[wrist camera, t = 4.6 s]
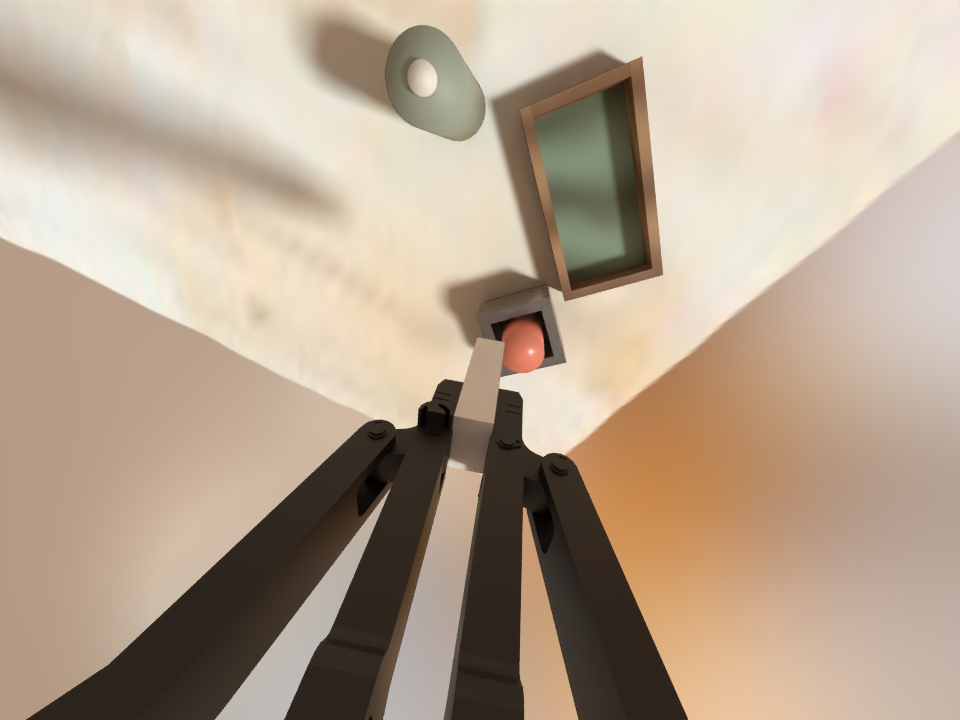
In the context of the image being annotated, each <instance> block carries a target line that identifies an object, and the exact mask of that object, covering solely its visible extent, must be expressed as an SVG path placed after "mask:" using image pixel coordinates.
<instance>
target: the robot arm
mask: <svg viewBox="0 0 960 720" xmlns="http://www.w3.org/2000/svg"><path fill="white" fill-rule="evenodd" d="M504 346H505V342H500V341H495V340H490V339H484V338H479V337H477V340H476V344H475V347H474V350H473V354H472V357H471V360H470V364H469V367H468V370H467V374H466V377H465V380H464V383H463V382H458V381H453V380H447V379H445V380H443V381H442V382H441V383H439V384H438V386H437V389H436V391H435V393H434V396H433V398H432V401H430V402H426V403H424V404H422V405H421V406H420V408H419V410H418V425H417V426H415V427H412V428H407V429H396V428H395V427H394V425H393V424H392V423H390V422H388V421H385V420H373V421H370V422H367V423H366V424H364V425H363V426H362V427H361V428H359V429H358V430H357V431H356V432H355V433H354V434H353V435H352V436H351V437H350V438H349V439H348V440H347V441H346V442H345V443H344V444H342V446H340V448H338V449H337V450H336V451H335V452H334V453H333V454H332V455H331V456H330V457H329V458H328V459H327V460H325V462H323V463H322V464H321V465H320V466H319V467H318V468H317V469H316V470H315V471H314V472H313V473H312V474H311V475H310V476H308V478H306V479H305V480H304V481H303V482H302V483H301V484H300V485H299V486H298V487H297V488H296V489H295V490H294V491H293V492H292V493H291V494H289V495H288V496H287V497H286V498H285V499H284V500H283V501H282V502H281V503H280V504H279V505H278V506H277V507H276V508H275V509H273V510H272V511H271V512H270V513H269V514H268V515H267V516H266V517H265V518H264V519H263V520H262V521H261V522H260V523H259V524H258V525H257V526H255V527H254V528H253V529H252V530H251V531H250V532H249V533H248V534H247V535H246V536H245V537H244V538H243V539H242V540H241V541H240V542H238V543H237V544H236V545H235V546H234V547H233V548H232V549H231V550H230V551H229V552H228V553H227V554H226V555H225V556H224V557H222V558H221V559H220V560H219V562H217V563H216V564H215V565H214V566H213V567H212V568H211V569H210V570H209V571H208V572H207V573H205V574H204V575H203V576H202V577H201V578H200V579H199V580H198V581H197V582H196V583H195V584H194V585H193V586H192V587H191V588H190V589H189V590H187V591H186V592H185V593H184V594H183V595H182V596H181V597H180V598H179V599H178V600H177V601H176V602H175V603H174V604H173V605H172V606H171V607H169V608H168V609H167V610H166V611H165V612H164V613H163V614H162V615H161V616H160V617H159V618H158V619H157V620H156V621H155V622H153V623H152V624H151V625H150V626H149V627H148V628H147V629H146V630H145V631H144V632H143V633H142V634H141V635H140V636H139V637H137V638H136V639H135V640H134V641H133V642H132V643H131V644H130V645H129V646H128V647H127V648H126V649H125V650H124V651H123V652H122V653H120V654H119V656H117V657H116V658H115V659H114V660H113V661H112V662H111V663H110V664H109V665H107V666H106V667H105V668H103V669H101V670H100V671H98V672H97V673H95V674H94V675H92V676H91V677H90V678H88V679H86V680H85V681H83V682H82V683H80V684H79V685H77V686H76V687H74V688H73V689H71V690H70V691H68V692H67V693H65V694H64V695H63V696H61V697H59V698H58V699H57V700H55V701H54V702H52V703H50V704H49V705H48V706H46V707H44V708H43V709H41V710H40V711H39V712H37V713H35V714H34V715H32V716H31V717H30V718H28V719H26V720H215V719H216V717H217V716H218V715H219V714H220V712H221V711H222V710H223V709H224V707H225V706H226V704H227V703H228V702H229V701H230V699H231V698H232V697H233V695H234V694H235V693H236V692H237V690H238V689H239V688H240V686H241V685H242V684H243V682H244V681H245V679H246V678H247V677H248V675H249V674H250V673H251V671H252V670H253V669H254V668H255V666H256V665H257V664H258V662H259V661H260V660H261V658H262V657H263V656H264V654H265V653H266V652H267V651H268V649H269V648H270V647H271V645H272V644H273V642H274V641H275V640H276V639H277V637H278V636H279V635H280V633H281V632H282V631H283V629H284V628H285V627H286V625H287V624H288V623H289V621H290V620H291V619H292V617H293V616H294V615H295V613H296V612H297V611H298V610H299V608H300V607H301V606H302V604H303V603H304V601H305V600H306V599H307V598H308V596H309V595H310V594H311V592H312V591H313V590H314V588H315V587H316V586H317V584H318V583H319V582H320V580H321V579H322V578H323V576H324V575H325V574H326V572H327V571H328V570H329V568H330V567H331V566H332V565H333V563H334V562H335V560H336V559H337V558H338V557H339V555H340V554H341V553H342V551H343V550H344V549H345V547H346V546H347V544H349V542H350V541H351V540H352V538H353V537H354V536H355V534H356V533H357V532H358V530H359V529H360V528H361V526H362V525H363V524H364V522H365V521H366V520H367V518H368V517H369V516H370V514H371V513H372V512H373V510H374V509H375V508H376V507H377V505H378V504H379V502H380V501H381V500H382V499H383V497H384V496H385V495H386V493H387V492H388V491H389V489H390V488H391V489H390V492H389V494H388V496H387V499H386V501H385V504H384V506H383V508H382V511H381V513H380V516H379V518H378V520H377V522H376V525H375V527H374V530H373V532H372V534H371V537H370V539H369V542H368V544H367V546H366V548H365V551H364V553H363V556H362V558H361V560H360V563H359V565H358V568H357V570H356V572H355V575H354V577H353V579H352V582H351V584H350V586H349V589H348V591H347V593H346V596H345V598H344V600H343V603H342V605H341V608H340V610H339V612H338V615H337V617H336V619H335V622H334V624H333V626H332V628H331V631H330V633H329V634H328V636H327V637H326V638H325V639H324V640H323V641H322V642H320V644H319V646H318V647H317V649H316V650H315V652H314V654H313V656H312V658H311V661H310V663H309V665H308V667H307V669H306V671H305V674H304V676H303V678H302V680H301V683H300V685H299V687H298V690H297V692H296V694H295V696H294V699H293V701H292V703H291V706H290V708H289V710H288V712H287V715H286V717H285V719H284V720H383V716H384V712H385V707H386V702H387V697H388V692H389V688H390V684H391V680H392V676H393V672H394V669H395V665H396V661H397V657H398V653H399V650H400V646H401V642H402V638H403V635H404V631H405V627H406V623H407V620H408V615H409V612H410V608H411V604H412V601H413V597H414V593H415V589H416V585H417V582H418V578H419V574H420V570H421V567H422V563H423V559H424V555H425V552H426V548H427V544H428V540H429V536H430V532H431V529H432V525H433V521H434V517H435V514H436V510H437V506H438V502H439V499H440V495H441V491H442V487H443V484H444V480H445V474H446V468H447V466H448V467H453V468H458V469H463V470H468V471H473V472H478V473H483V475H482V480H481V485H480V490H479V494H478V497H479V498H478V504H477V511H476V518H475V524H474V530H473V537H472V543H471V549H470V556H469V563H468V569H467V575H466V582H465V588H464V595H463V601H462V608H461V615H460V621H459V627H458V633H457V640H456V646H455V652H454V659H453V665H452V672H451V679H450V685H449V691H448V698H447V704H446V709H445V715H444V720H524V694H523V687H522V684H521V681H520V674H519V661H520V613H521V570H522V524H523V507H525V508H527V514H528V518H529V522H530V526H531V531H532V535H533V539H534V543H535V547H536V551H537V555H538V559H539V563H540V567H541V571H542V575H543V579H544V583H545V587H546V591H547V595H548V599H549V603H550V607H551V611H552V615H553V619H554V623H555V627H556V631H557V635H558V639H559V643H560V647H561V651H562V655H563V659H564V663H565V667H566V671H567V675H568V679H569V683H570V687H571V691H572V695H573V699H574V703H575V707H576V711H577V715H578V719H579V720H688V718H687V716H686V713H685V711H684V709H683V707H682V705H681V702H680V700H679V698H678V695H677V693H676V691H675V689H674V686H673V684H672V682H671V679H670V677H669V675H668V673H667V670H666V668H665V666H664V664H663V661H662V659H661V657H660V655H659V652H658V650H657V648H656V646H655V643H654V641H653V639H652V636H651V634H650V632H649V630H648V627H647V625H646V623H645V621H644V618H643V616H642V614H641V611H640V609H639V607H638V605H637V602H636V600H635V598H634V596H633V593H632V591H631V589H630V587H629V584H628V582H627V580H626V577H625V575H624V573H623V571H622V568H621V566H620V564H619V562H618V559H617V557H616V555H615V553H614V550H613V548H612V546H611V543H610V541H609V539H608V537H607V534H606V532H605V530H604V528H603V525H602V523H601V521H600V518H599V516H598V514H597V512H596V509H595V507H594V505H593V503H592V500H591V498H590V496H589V493H588V491H587V489H586V487H585V484H584V482H583V480H582V478H581V475H580V473H579V471H578V469H577V466H576V465H575V464H574V462H573V461H572V460H570V459H569V458H568V457H567V456H564V455H562V454H558V453H550V454H547V455H546V456H544V457H542V456H540V455H537V454H535V453H534V452H532V451H530V450H529V449H528V448H527V447H526V446H525V444H524V442H523V440H522V413H523V409H522V408H523V399H522V397H521V396H520V394H519V392H514V391H509V390H504V389H499V382H500V375H501V368H502V360H503V353H504ZM447 464H448V465H447Z"/></svg>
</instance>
